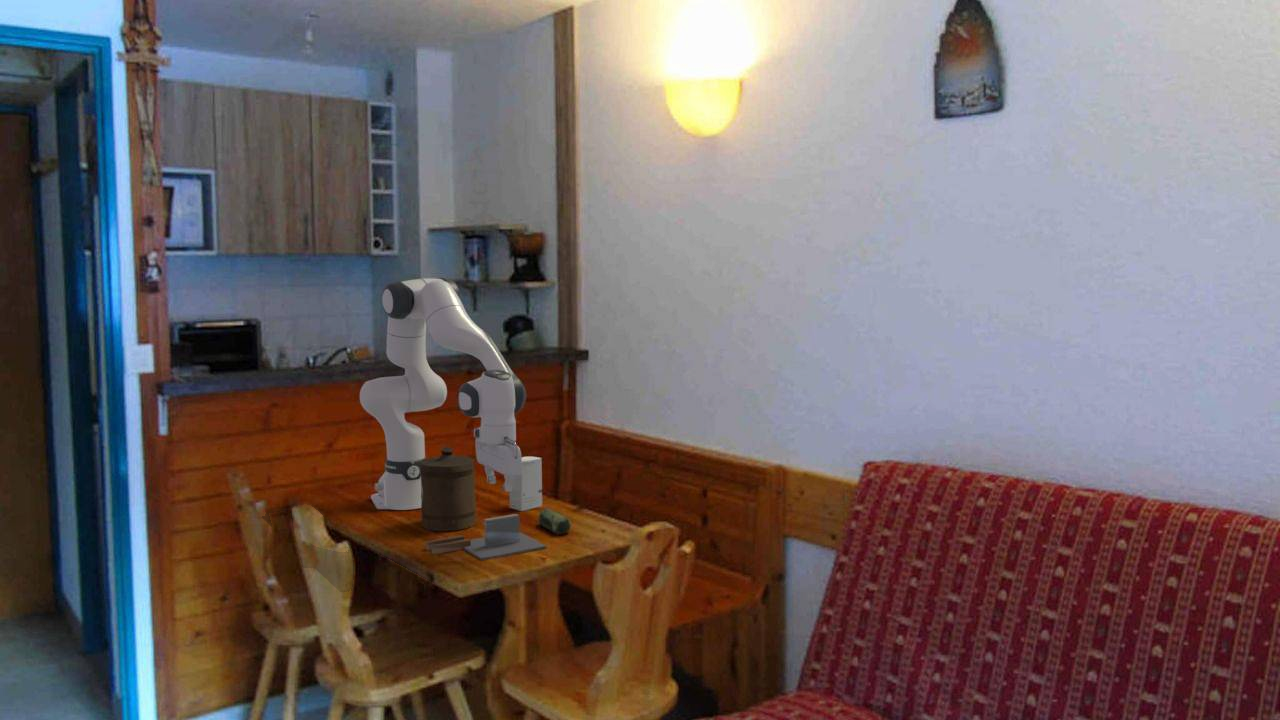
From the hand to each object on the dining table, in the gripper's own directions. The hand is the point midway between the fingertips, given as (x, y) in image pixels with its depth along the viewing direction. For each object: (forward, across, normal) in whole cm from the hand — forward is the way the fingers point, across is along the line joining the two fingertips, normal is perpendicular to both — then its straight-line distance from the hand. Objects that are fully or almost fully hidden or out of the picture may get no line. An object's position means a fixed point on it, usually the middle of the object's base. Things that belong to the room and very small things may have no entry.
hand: (499, 487), depth 257 cm
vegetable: (+16, +6, -19) cm, 25 cm away
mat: (+16, 0, 0) cm, 16 cm away
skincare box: (+16, +30, -23) cm, 41 cm away
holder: (+16, +6, +12) cm, 21 cm away
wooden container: (+16, +27, +3) cm, 31 cm away
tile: (+15, 0, 0) cm, 15 cm away
